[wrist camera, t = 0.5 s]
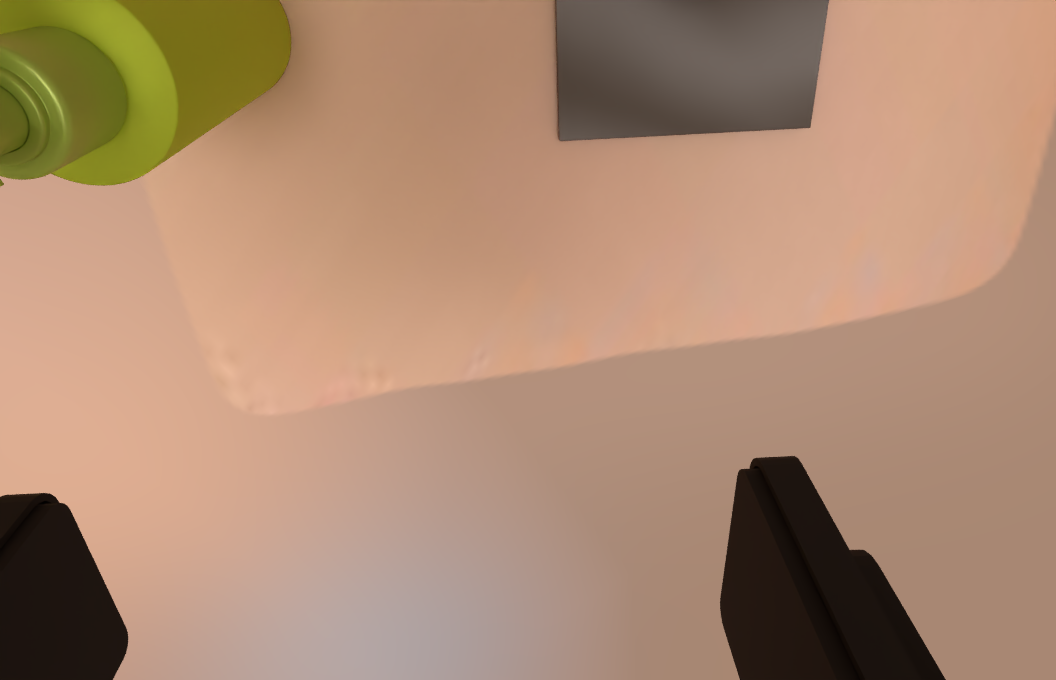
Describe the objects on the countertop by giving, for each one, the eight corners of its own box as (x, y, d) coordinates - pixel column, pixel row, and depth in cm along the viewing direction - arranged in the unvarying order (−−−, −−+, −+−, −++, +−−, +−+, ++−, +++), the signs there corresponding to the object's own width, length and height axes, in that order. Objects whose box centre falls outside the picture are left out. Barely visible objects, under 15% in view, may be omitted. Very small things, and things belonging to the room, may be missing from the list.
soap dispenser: (233, -93, 30) (-140, -123, 13) (315, 71, 33) (109, 227, 16) (112, -37, 31) (-391, 8, 13) (204, 118, 34) (-107, 314, 17)
